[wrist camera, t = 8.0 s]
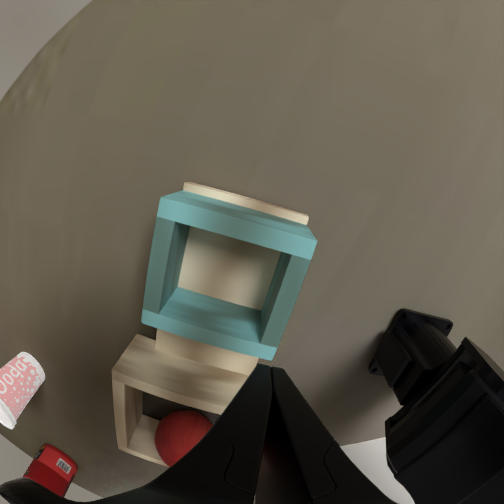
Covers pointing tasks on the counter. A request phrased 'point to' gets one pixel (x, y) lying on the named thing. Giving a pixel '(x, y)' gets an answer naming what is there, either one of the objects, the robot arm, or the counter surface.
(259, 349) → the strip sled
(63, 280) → the counter surface
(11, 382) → the beverage cup
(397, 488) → the milk
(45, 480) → the canned food
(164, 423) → the onion
